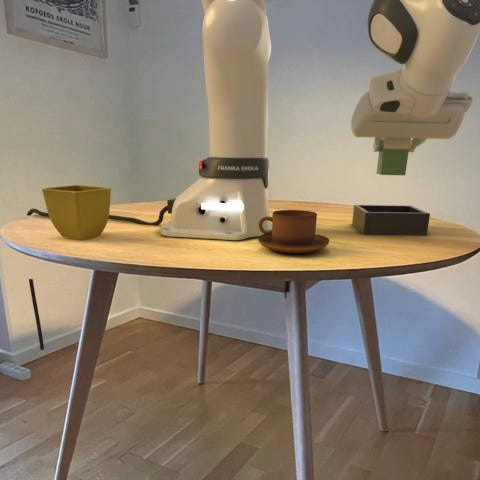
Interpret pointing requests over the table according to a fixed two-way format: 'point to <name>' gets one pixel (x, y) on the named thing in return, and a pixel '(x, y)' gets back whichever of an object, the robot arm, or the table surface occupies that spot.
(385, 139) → the packet
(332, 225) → the table surface
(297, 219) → the cup and saucer
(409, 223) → the dark open box
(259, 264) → the table surface
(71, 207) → the flower pot
